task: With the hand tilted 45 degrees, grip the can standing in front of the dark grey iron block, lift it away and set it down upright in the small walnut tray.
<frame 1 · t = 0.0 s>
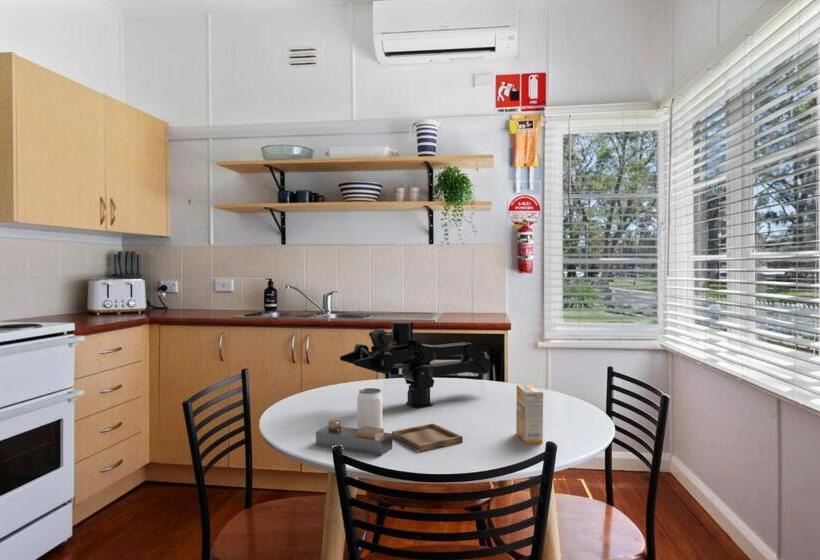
hand: (346, 360, 155), 17 cm above the table, tool horizontal, fingers open, 9 cm apart
can: (369, 437, 138), on the table
supplement box: (528, 439, 137), on the table
iron block: (353, 446, 131), on the table
walnut tray: (426, 439, 136), on the table
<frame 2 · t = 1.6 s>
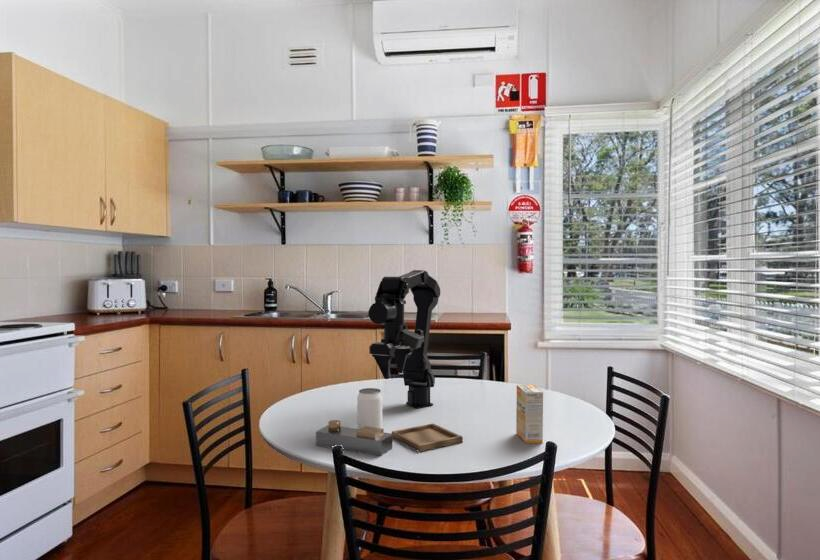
hand: (393, 375, 151), 13 cm above the table, tool pointing down, fingers open, 9 cm apart
nothing on the table moved.
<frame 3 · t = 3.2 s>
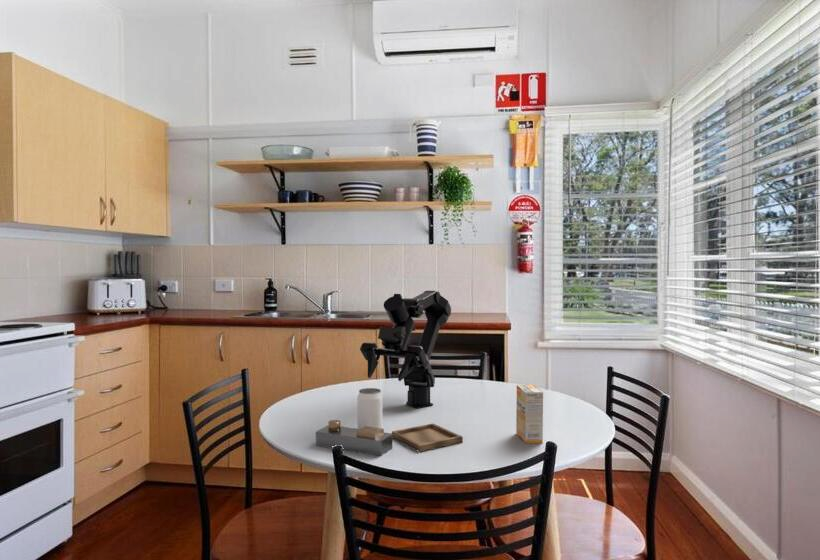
hand: (383, 378, 145), 13 cm above the table, tool tilted 45°, fingers open, 9 cm apart
nothing on the table moved.
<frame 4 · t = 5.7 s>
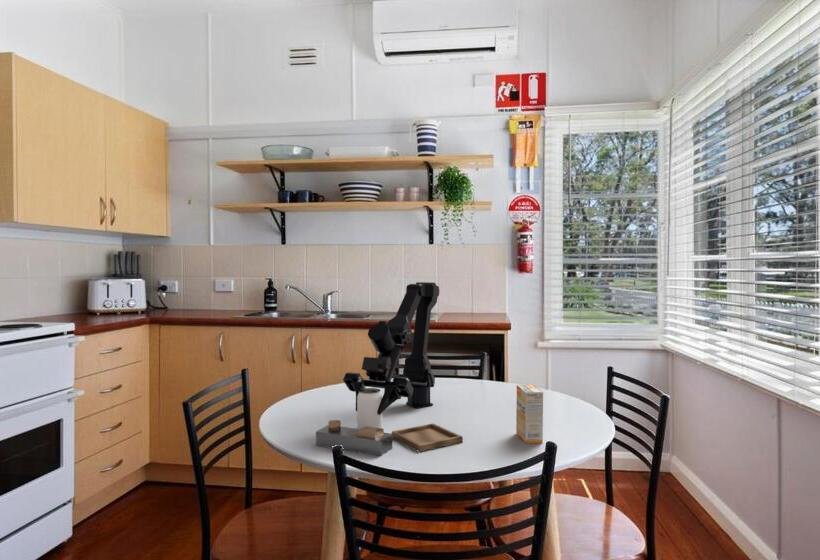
hand: (367, 412, 137), 7 cm above the table, tool tilted 45°, fingers closed on can, 6 cm apart
can: (369, 437, 138), on the table, touching gripper
everything else where it was.
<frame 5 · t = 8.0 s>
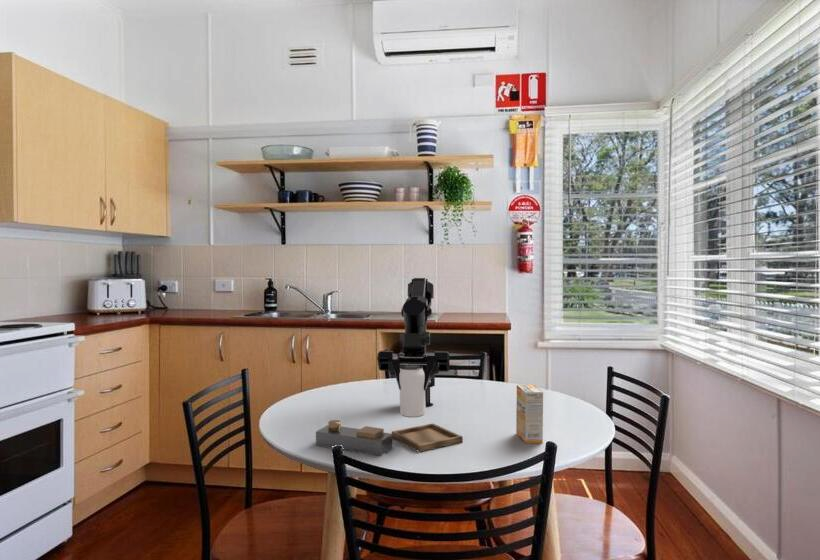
hand: (412, 389, 134), 13 cm above the table, tool tilted 45°, fingers closed on can, 6 cm apart
can: (413, 415, 136), point 6 cm above the table, touching gripper
everything else where it was.
when the fingers open (8 cm above the table, at t = 9.9 s): can drops 1 cm, resting on walnut tray.
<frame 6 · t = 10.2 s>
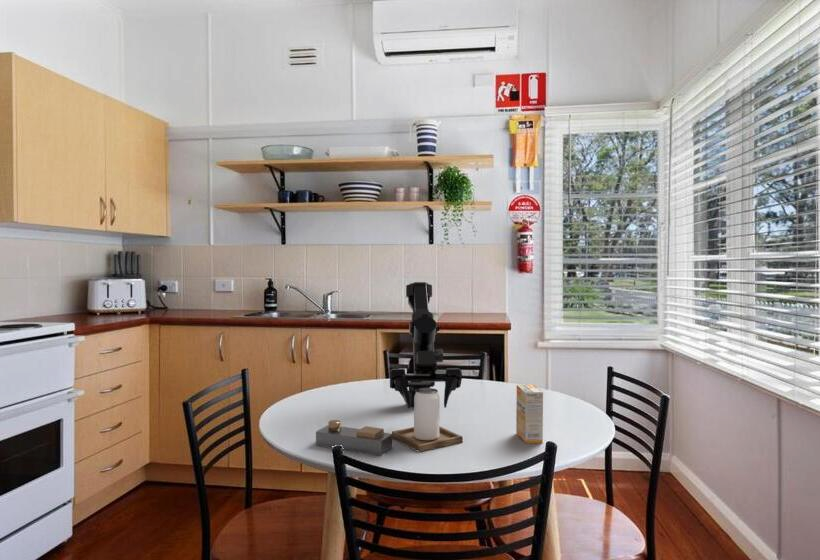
hand: (427, 407, 134), 9 cm above the table, tool tilted 45°, fingers open, 9 cm apart
can: (426, 437, 136), resting on walnut tray
everything else where it was.
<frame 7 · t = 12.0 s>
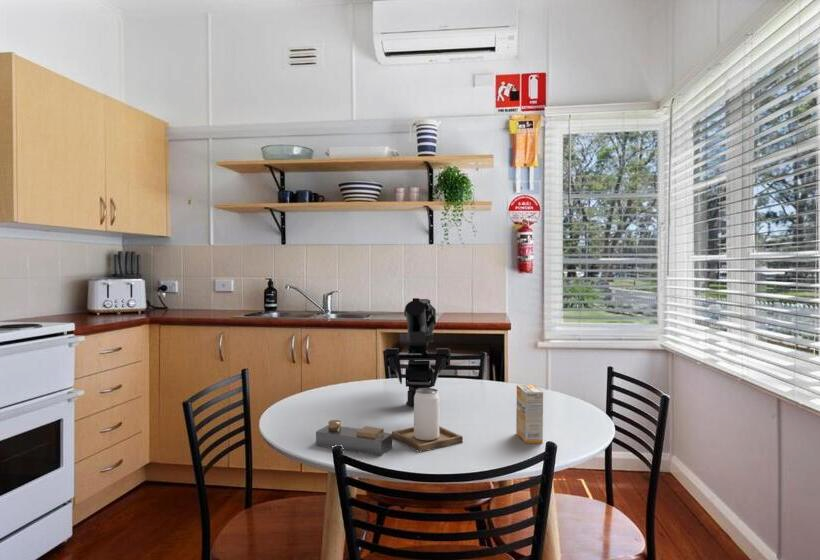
hand: (417, 382, 147), 12 cm above the table, tool tilted 45°, fingers open, 9 cm apart
nothing on the table moved.
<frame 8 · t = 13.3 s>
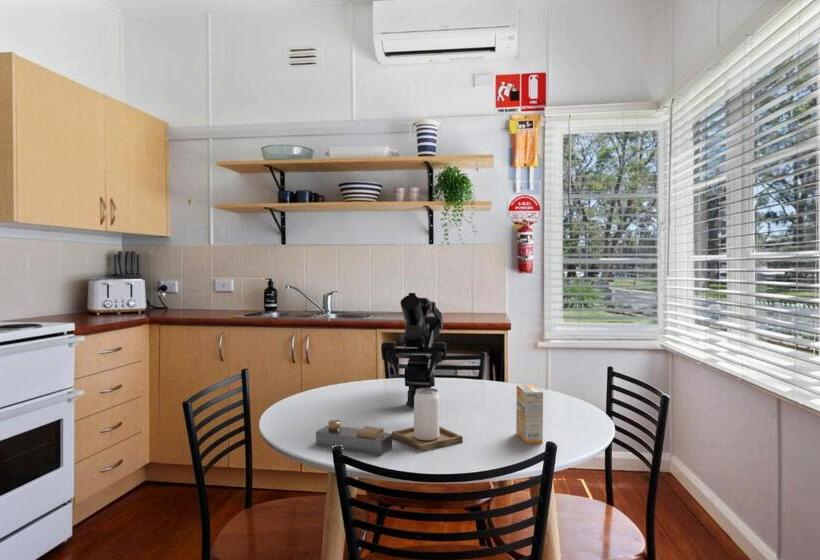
hand: (413, 375, 148), 14 cm above the table, tool tilted 45°, fingers open, 9 cm apart
nothing on the table moved.
at the end: can inside the target area on the walnut tray (0.1 cm from its centre), point 0.4 cm above the walnut tray's base; can tilted 0°; the gripper is holding nothing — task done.
